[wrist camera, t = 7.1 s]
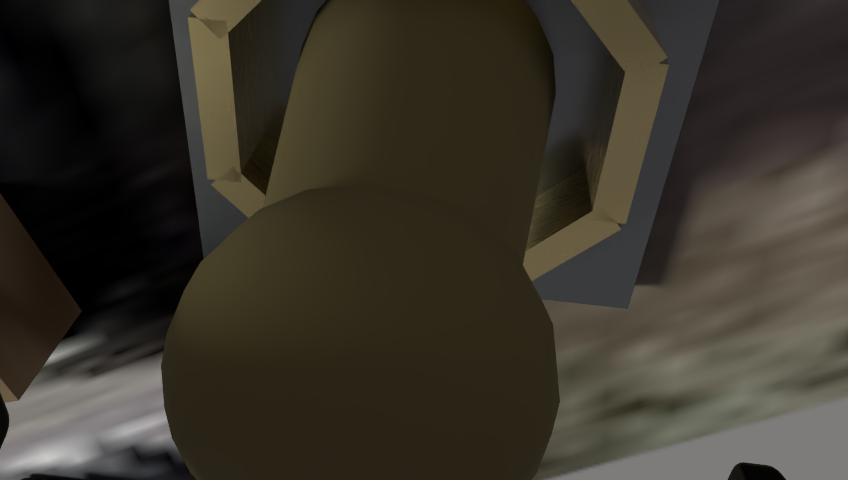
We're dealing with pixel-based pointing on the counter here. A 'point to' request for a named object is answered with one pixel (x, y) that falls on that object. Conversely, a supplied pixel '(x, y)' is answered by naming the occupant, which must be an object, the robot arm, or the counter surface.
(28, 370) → the walnut block
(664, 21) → the cup bracket
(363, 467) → the olive brown tapered cylinder
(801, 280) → the counter surface
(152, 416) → the counter surface
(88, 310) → the counter surface
